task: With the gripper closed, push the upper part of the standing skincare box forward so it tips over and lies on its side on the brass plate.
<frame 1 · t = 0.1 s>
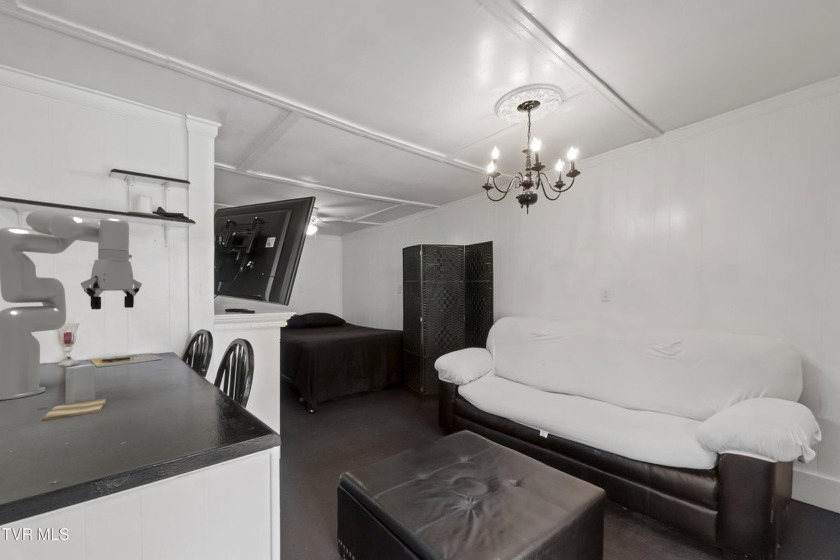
hand: (113, 308, 112), 31 cm above the breakfast bar, tool pointing down, fingers open, 9 cm apart
brass plate: (77, 410, 105), on the breakfast bar
skincare box: (80, 403, 113), on the breakfast bar
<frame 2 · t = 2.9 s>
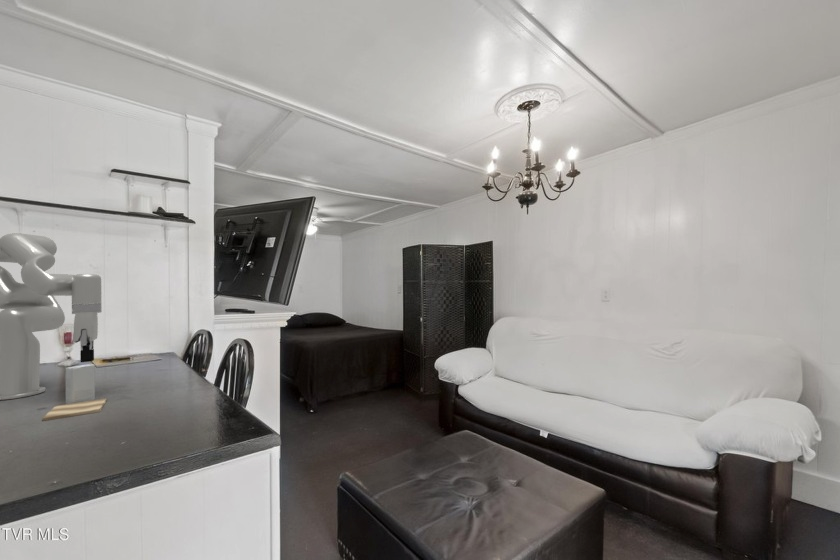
hand: (87, 361, 119), 12 cm above the breakfast bar, tool pointing down, fingers closed
nothing on the breakfast bar moved.
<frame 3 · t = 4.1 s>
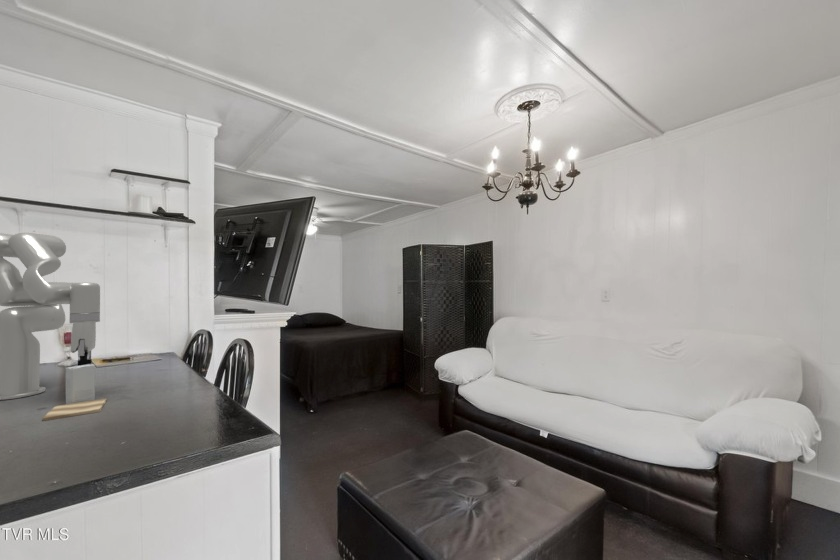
hand: (84, 371, 117), 9 cm above the breakfast bar, tool pointing down, fingers closed
nothing on the breakfast bar moved.
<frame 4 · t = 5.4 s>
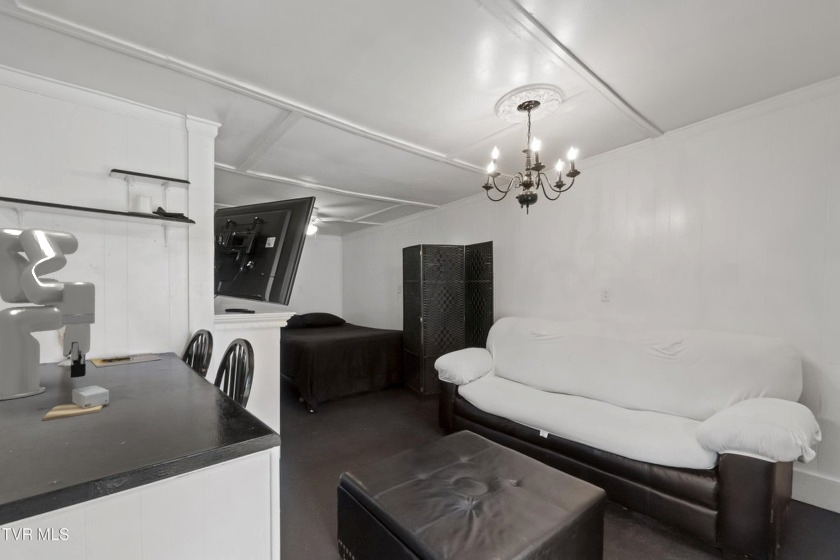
hand: (78, 376, 110), 9 cm above the breakfast bar, tool pointing down, fingers closed
skincare box: (83, 394, 113), point 3 cm above the breakfast bar, touching brass plate
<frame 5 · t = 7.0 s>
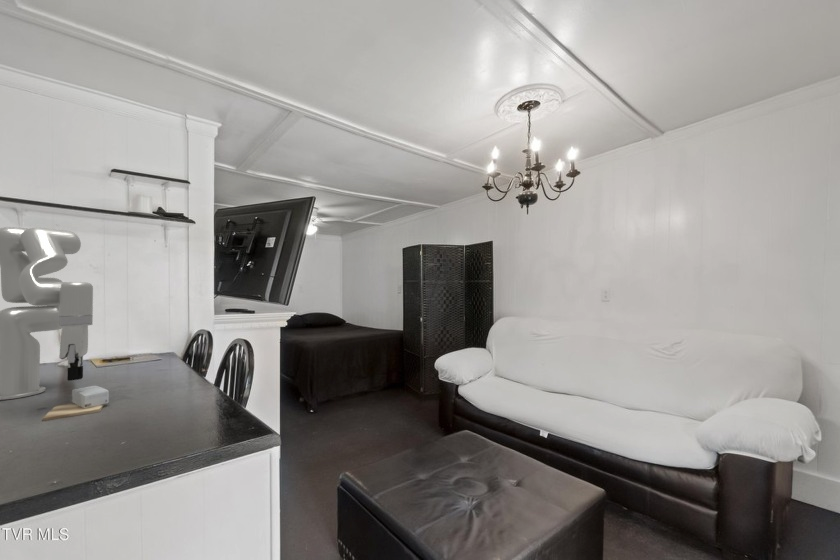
hand: (75, 379, 107), 9 cm above the breakfast bar, tool pointing down, fingers closed
nothing on the breakfast bar moved.
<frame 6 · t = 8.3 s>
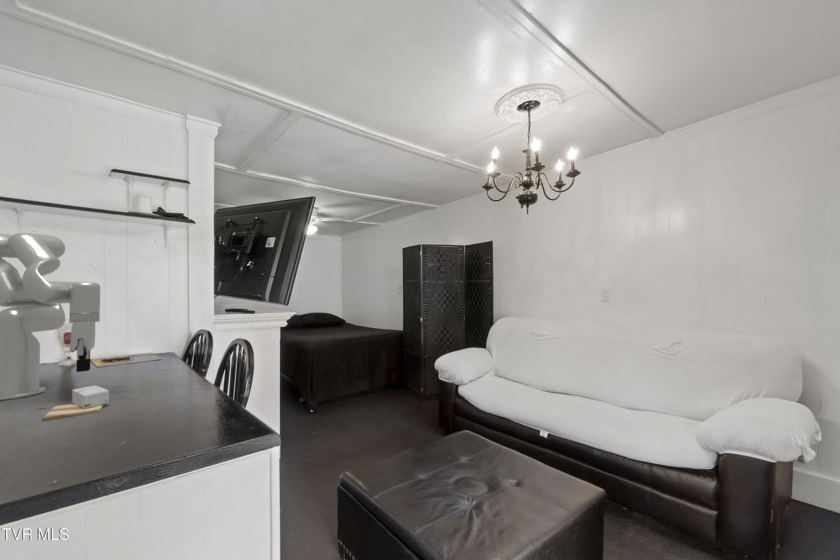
hand: (83, 370, 118), 9 cm above the breakfast bar, tool pointing down, fingers closed
nothing on the breakfast bar moved.
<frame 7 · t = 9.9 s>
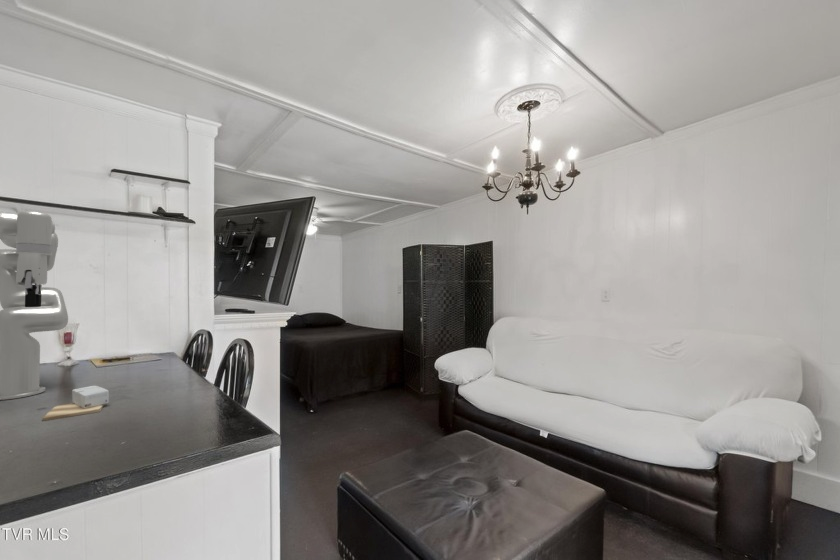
hand: (33, 306, 110), 32 cm above the breakfast bar, tool pointing down, fingers closed
nothing on the breakfast bar moved.
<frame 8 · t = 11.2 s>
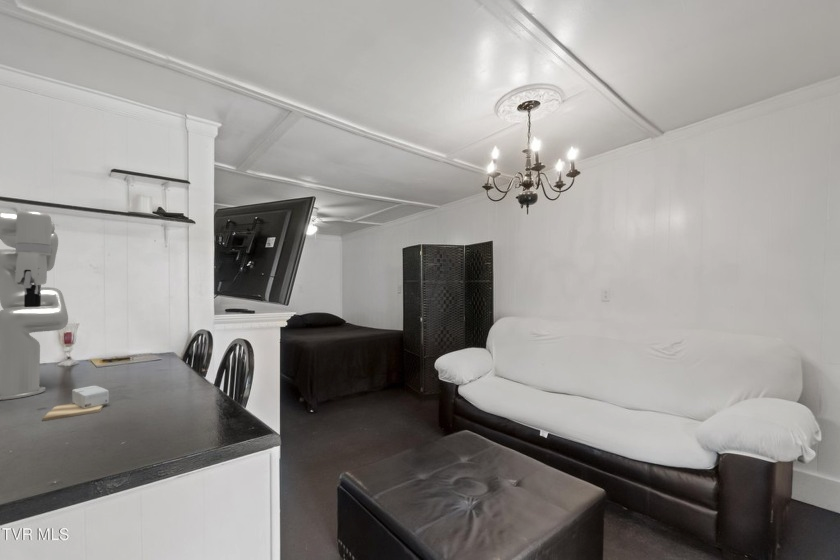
hand: (32, 306, 110), 32 cm above the breakfast bar, tool pointing down, fingers closed
nothing on the breakfast bar moved.
at the end: skincare box tilted 89°; skincare box touching brass plate; skincare box inside the target area (3.9 cm from its centre), point 2.8 cm above the breakfast bar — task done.
